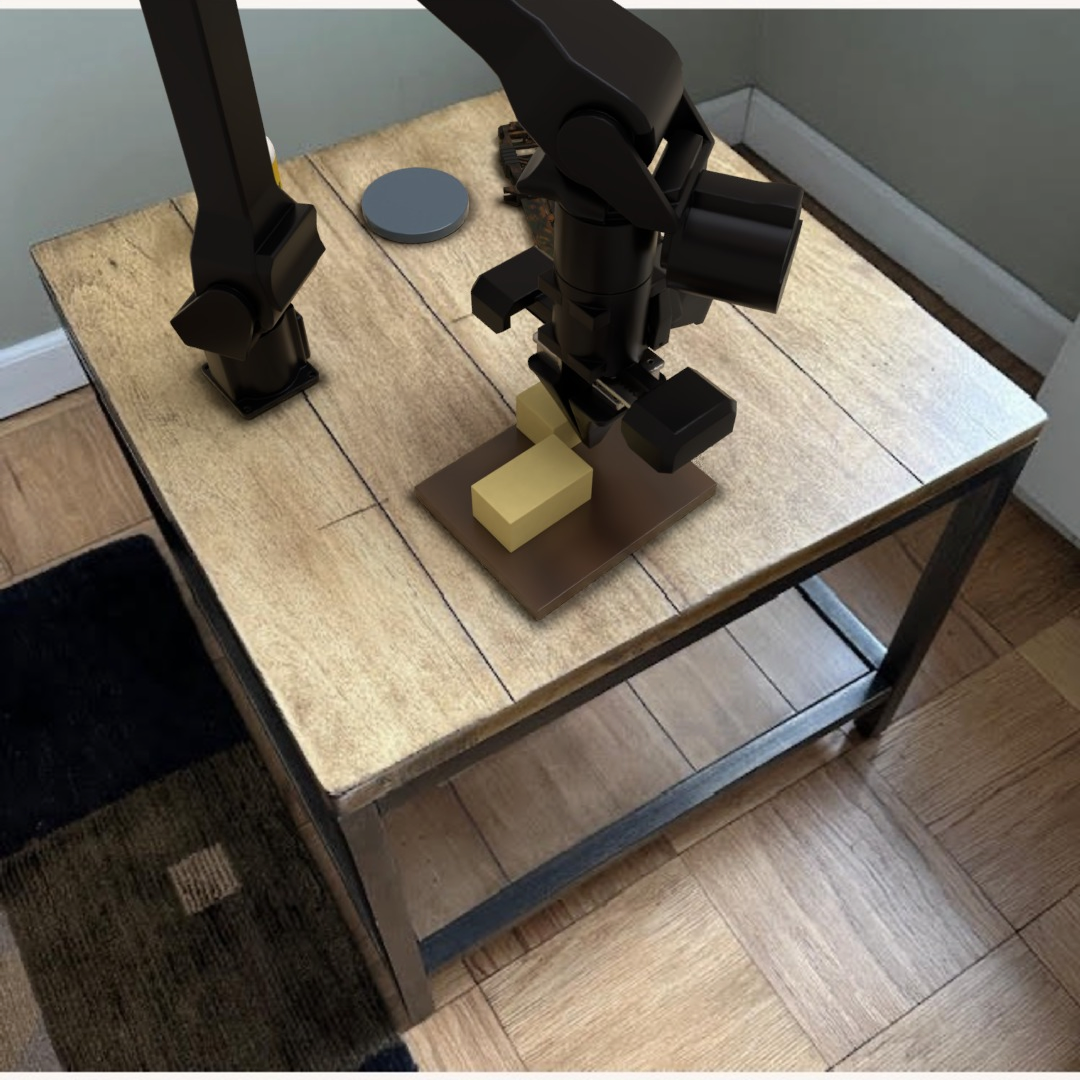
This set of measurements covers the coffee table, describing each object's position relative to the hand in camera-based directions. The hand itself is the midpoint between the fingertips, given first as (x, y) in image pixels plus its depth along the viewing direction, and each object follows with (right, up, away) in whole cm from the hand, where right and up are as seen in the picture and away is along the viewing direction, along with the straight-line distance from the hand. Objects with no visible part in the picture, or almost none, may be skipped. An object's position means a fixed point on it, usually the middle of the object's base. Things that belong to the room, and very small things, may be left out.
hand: (591, 442), depth 75 cm
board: (-2, -4, +1) cm, 4 cm away
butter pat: (-2, +1, +2) cm, 4 cm away
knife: (-2, +20, +18) cm, 27 cm away
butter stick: (-4, -4, -2) cm, 6 cm away
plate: (-14, +21, +18) cm, 32 cm away
